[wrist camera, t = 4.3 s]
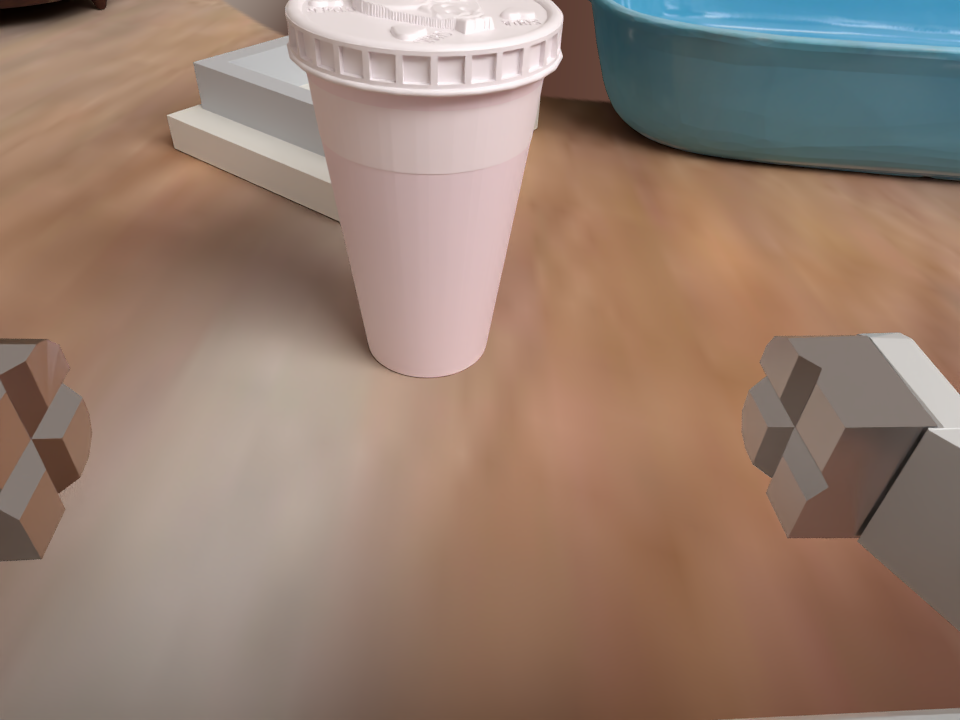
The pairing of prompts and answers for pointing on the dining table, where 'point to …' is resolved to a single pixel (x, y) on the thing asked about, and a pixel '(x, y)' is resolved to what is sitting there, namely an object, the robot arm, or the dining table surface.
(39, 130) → the dining table surface
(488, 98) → the smoothie
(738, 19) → the casserole dish
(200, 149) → the collar plate
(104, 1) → the brown spool stand
